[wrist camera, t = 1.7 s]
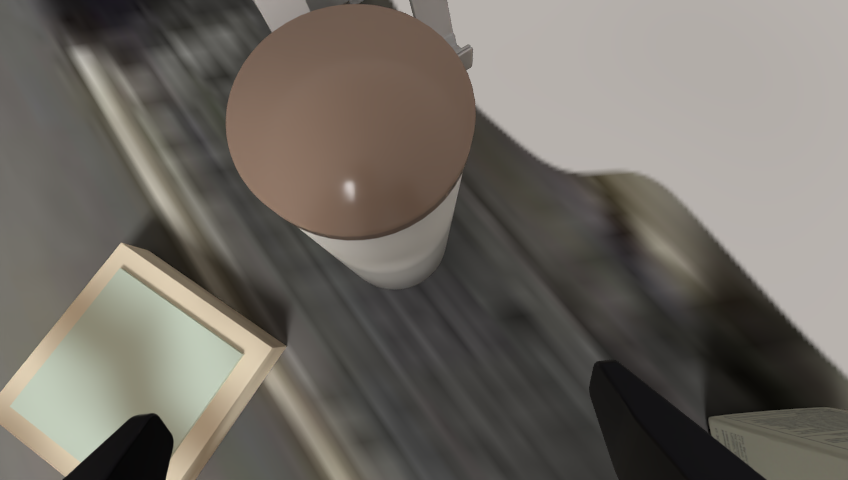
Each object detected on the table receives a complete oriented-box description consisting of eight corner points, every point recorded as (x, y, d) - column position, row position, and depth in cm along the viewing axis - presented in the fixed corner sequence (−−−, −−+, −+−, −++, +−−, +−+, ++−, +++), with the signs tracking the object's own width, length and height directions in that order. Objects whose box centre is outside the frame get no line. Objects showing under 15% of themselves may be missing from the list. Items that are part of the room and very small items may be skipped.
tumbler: (410, 311, 21) (385, 283, 8) (322, 253, 22) (173, 146, 9) (467, 222, 22) (521, 75, 9) (380, 169, 23) (322, -34, 10)
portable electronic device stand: (342, 152, 23) (295, 55, 15) (272, 48, 24) (195, -94, 16) (470, 75, 24) (493, -57, 16) (396, -22, 25) (382, -188, 17)
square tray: (170, 516, 19) (137, 539, 17) (27, 404, 20) (-21, 412, 18) (286, 346, 21) (270, 348, 19) (148, 250, 22) (118, 241, 20)
